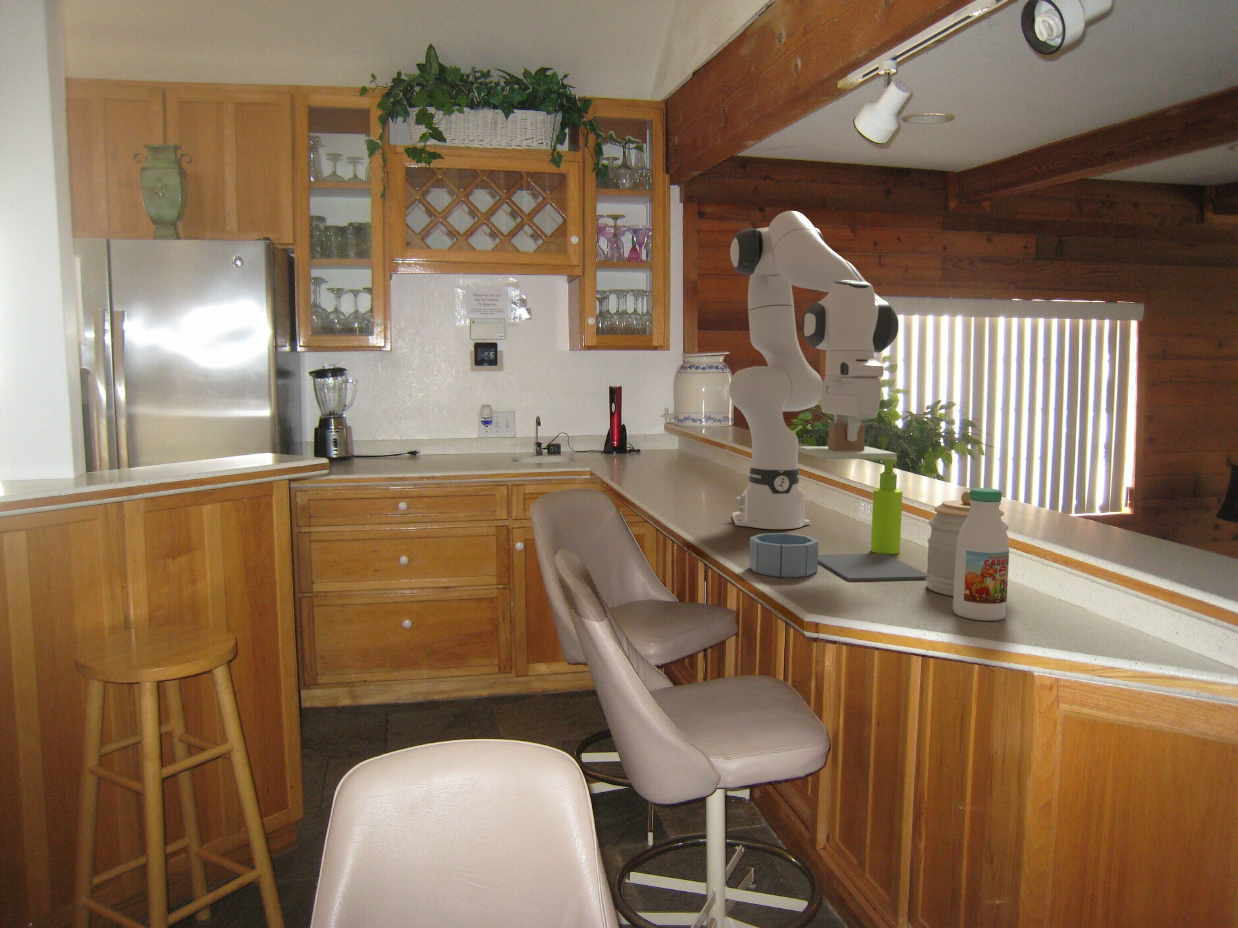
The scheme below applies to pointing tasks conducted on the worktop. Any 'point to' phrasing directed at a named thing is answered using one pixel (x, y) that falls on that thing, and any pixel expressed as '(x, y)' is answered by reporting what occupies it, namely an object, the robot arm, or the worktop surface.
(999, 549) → the milk bottle
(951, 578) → the jar
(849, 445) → the cover
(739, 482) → the worktop surface
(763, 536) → the bowl
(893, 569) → the mat
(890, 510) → the soap dispenser
